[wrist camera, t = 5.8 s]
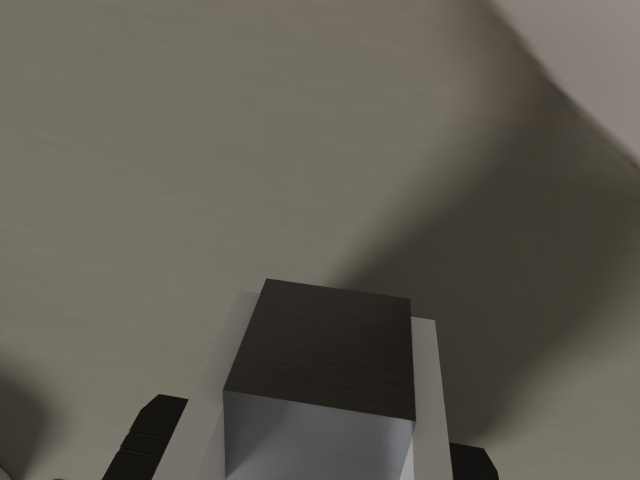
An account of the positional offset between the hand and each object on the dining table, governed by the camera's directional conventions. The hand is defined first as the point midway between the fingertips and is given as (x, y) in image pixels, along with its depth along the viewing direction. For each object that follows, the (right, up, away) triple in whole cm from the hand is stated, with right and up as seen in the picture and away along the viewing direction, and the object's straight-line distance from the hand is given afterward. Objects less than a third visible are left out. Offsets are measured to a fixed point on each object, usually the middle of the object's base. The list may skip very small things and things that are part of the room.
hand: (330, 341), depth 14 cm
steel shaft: (-1, -7, +4) cm, 8 cm away
